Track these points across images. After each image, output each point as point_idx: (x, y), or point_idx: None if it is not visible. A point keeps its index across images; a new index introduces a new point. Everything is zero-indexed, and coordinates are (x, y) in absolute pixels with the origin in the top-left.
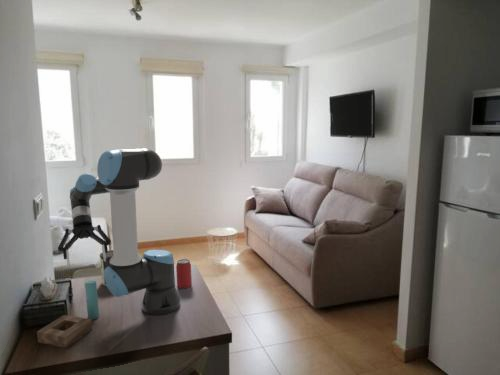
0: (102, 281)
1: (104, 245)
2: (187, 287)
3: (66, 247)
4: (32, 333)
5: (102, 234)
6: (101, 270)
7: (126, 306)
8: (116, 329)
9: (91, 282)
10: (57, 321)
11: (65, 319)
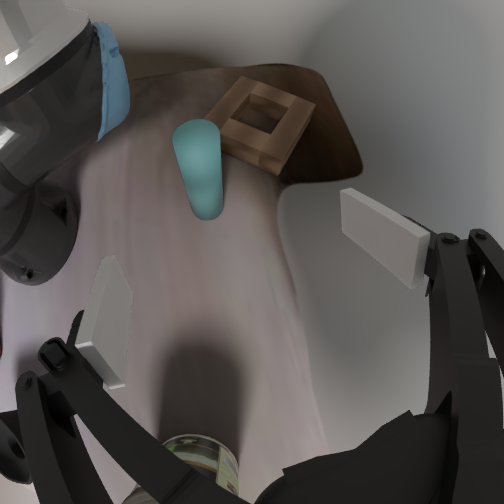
0: (232, 459)
1: (81, 355)
2: None
3: (445, 248)
4: (342, 158)
5: (59, 475)
6: (234, 481)
7: (117, 252)
8: (142, 137)
9: (191, 136)
10: (286, 131)
11: (268, 135)
